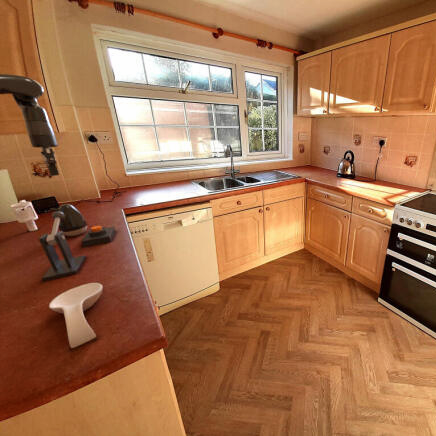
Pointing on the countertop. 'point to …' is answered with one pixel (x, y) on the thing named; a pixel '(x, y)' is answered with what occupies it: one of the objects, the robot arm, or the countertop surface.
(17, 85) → the robot arm
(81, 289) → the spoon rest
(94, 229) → the power button
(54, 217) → the lever
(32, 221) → the white stemmed block
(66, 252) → the lever bracket
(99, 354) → the countertop surface
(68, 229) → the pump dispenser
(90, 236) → the grey control base
